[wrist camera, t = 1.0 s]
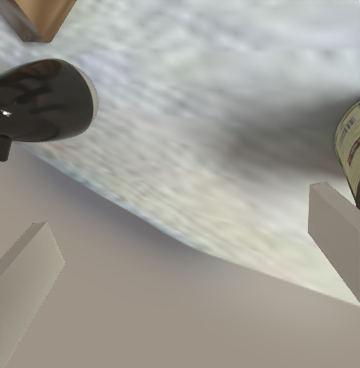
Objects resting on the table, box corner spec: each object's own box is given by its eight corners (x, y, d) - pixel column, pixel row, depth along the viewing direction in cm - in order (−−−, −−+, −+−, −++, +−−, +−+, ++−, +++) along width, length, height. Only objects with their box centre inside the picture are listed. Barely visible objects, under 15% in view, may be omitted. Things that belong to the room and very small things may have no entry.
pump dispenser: (57, 124, 44) (-41, 155, 31) (47, 53, 39) (-74, 56, 26) (111, 136, 41) (27, 176, 28) (108, 61, 36) (4, 70, 23)
